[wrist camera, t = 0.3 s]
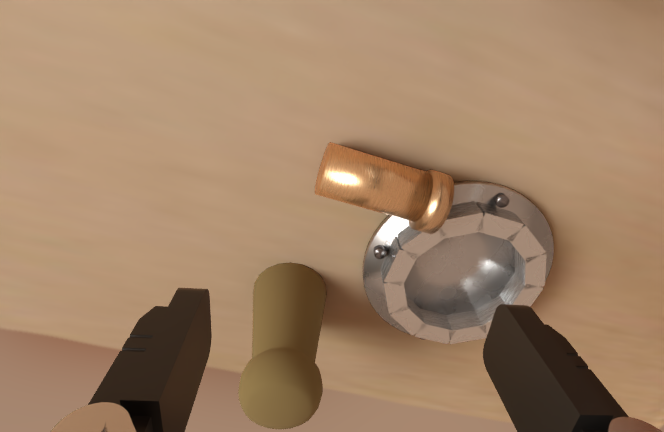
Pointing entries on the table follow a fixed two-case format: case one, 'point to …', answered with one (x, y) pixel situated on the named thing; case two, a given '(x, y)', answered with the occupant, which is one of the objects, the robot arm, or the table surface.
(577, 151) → the table surface
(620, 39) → the table surface
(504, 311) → the robot arm
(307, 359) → the cork
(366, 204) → the pipe stub
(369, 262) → the flange seat
